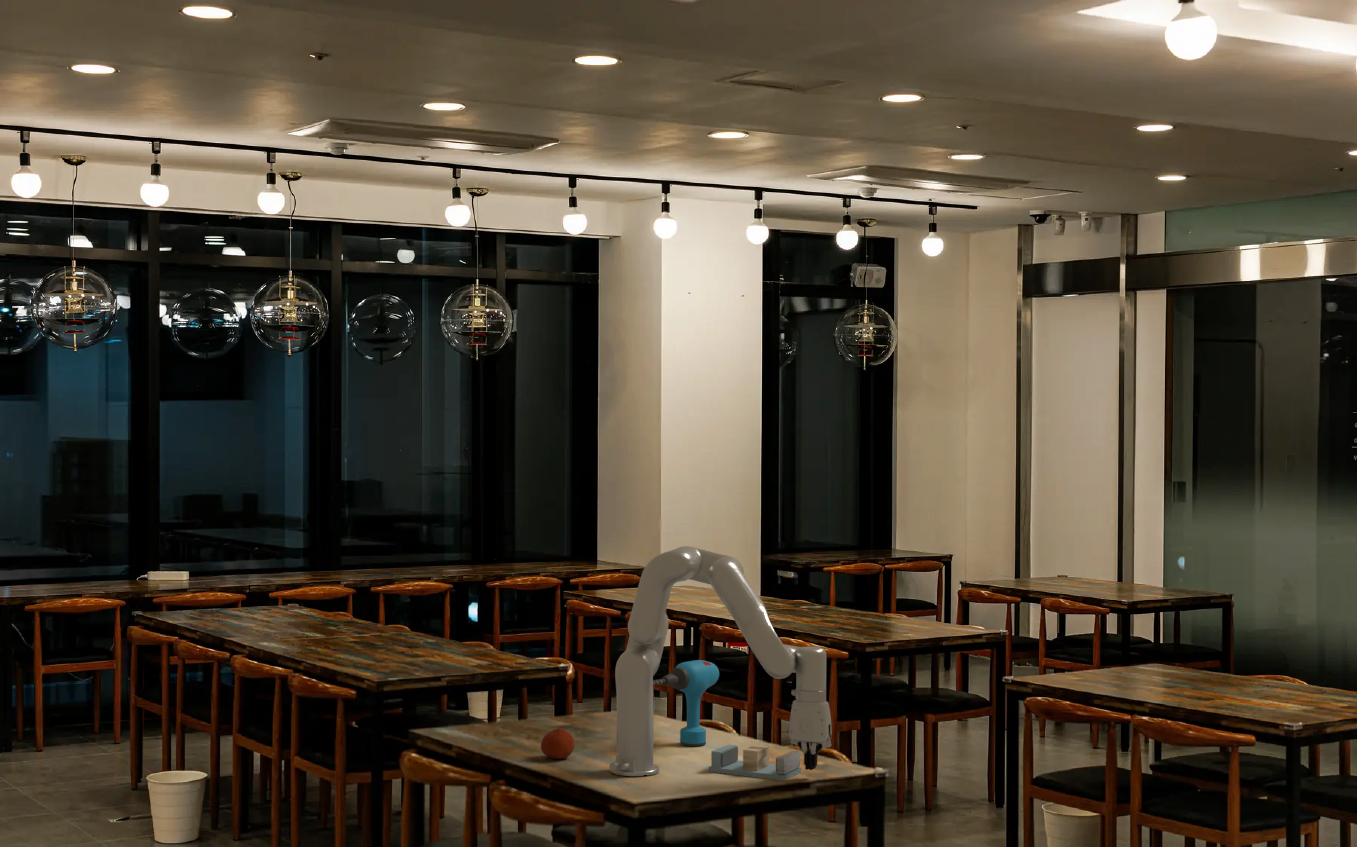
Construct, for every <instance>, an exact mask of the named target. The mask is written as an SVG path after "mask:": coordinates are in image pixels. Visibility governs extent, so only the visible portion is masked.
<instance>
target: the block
mask: <svg viewBox="0 0 1357 847" xmlns="http://www.w3.org/2000/svg"><path fill="white" fill-rule="evenodd" d="M742 761H743V769H745V770H753V771H758V770H761V769H763V768H765V767H768V766H769V764H770V746H766V745H760V744H759V745H758V744H754V745H752V746H748V747H747V748H744V749H743V750H742Z"/></svg>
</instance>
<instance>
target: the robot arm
mask: <svg viewBox="0 0 1357 847" xmlns="http://www.w3.org/2000/svg"><path fill="white" fill-rule="evenodd" d="M688 580H691V581H695V582H698V583H703V584H707V585H710V586H711V588H712V589H713V590H714V592H715V593H716V595H717V596H718V598H719V599H720V602H721V603H723V605H724V607H725V608H726V610H727V611H728V613H729V615H730V616H731V617H732V619H733V620H734V622H735V624H736V625H737V627H738V629H739V631H740V634H742V636H743V637H744V639H745V641H746V643H747V644H748V646H749V647H750V649H751V652H752V653H753V654H754V655H755V657H756V659H757V660H758V662H759V663H760V665H761V666H762V668H763V669H764V671H765V672H766V673H767V674H768V675H769V676H770V677H772V678H773V679H778V680H781V679H786V678H787V677H789V676H790V675H791V674H792V673H794V674H796V675H795V676H796V685H795V686H796V688H795V689H791V692H790V693H791V695H792V696H794V697H795V700H793V701H792V704H791V710H790V716H789V728H788V730H789V731H788V734H789V735H788V736H789V739H790V744H791V745H795V746H798V748H800V750H801V752H802V753H803V765H804V766H805V767H804V769H805V770H807V771H808V770H810V771H813V770H815V769H816V768H817V766H818V753H819V752H820V751H821V750H822V749H827V748H830V747H832V741H831V739H832V733H833V732H832V730H833V729H832V717H831V708H830V704H829V701H827V652H826V649H824V648H823V647H820V646H803V647H802V646H796V645H789V644H784V643H783V642H782V640H781V639H780V638H779V636H778V634H777V633H776V631H775V629H774V627H773V625H772V623H771V620H770V618H769V615H768V611H767V607H766V606H765V604H764V602H763V601H762V599H761V598H760V596H759V595H758V594H757V591H755V589H754V587H753V586H752V585H751V583H750V582H749V580H748V578H746V575H745V573H744V567H743V565H742V563H741V562H740V560H738V559H737V558H735V557H732V556H729V555H725V554H721V553H717V552H713V551H710V550H705V549H701V548H697V547H693V546H688V545H684V546H679V547H677V548H675V549H672V550H668V551H664V552H662V553H660V554H658V555H656V556H654V557H653V558H652V559H651V560H649V561H648V563H647V564H646V566H645V567H644V569H643V570H642V573H641V576H640V578H639V583H638V587H637V590H636V594H635V597H634V601H633V604H632V609H631V613H630V615H629V620H628V622H627V631H628V635H629V637H628V641H627V646H626V650H625V651H624V652H623V653H622V654H620V656H619V658H618V659H617V661H616V665H615V671H614V672H615V673H614V676H615V679H614V680H615V689H616V745H615V746H616V752H615V755H616V756H615V761H614V762H610V763H609V770H610V773H612V774H614V775H617V776H623V777H624V776H625V777H645V776H644V775H647V776H652V775H655V774H658V773H659V772H660V766H659V765H657V764H655V763H654V735H655V734H654V730H655V729H654V727H655V726H654V725H655V723H654V721H655V720H654V718H655V717H654V715H655V713H654V706H655V705H654V685H653V680H654V676H655V674H656V673H657V671H658V669H659V667H660V663H661V659H662V655H663V652H664V647H665V642H666V639H667V638H666V637H667V635H668V630H669V617H668V615H667V609H668V604H669V600H670V596H671V591H672V588H673V586H675V584H676V583H679V582H685V581H688Z"/></svg>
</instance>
